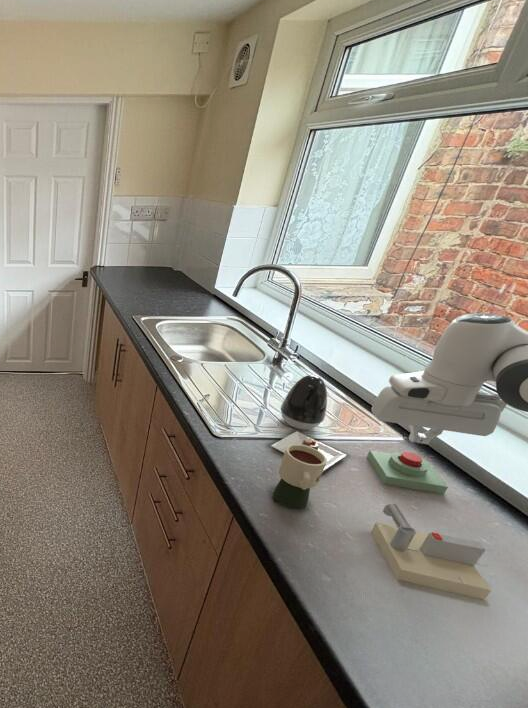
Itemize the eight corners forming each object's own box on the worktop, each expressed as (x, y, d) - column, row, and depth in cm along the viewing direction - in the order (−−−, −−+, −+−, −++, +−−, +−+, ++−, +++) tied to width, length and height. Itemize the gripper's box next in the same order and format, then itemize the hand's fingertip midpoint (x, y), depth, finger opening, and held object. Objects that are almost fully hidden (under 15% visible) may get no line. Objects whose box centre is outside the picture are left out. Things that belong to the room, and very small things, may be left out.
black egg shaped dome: (272, 425, 116) (287, 377, 109) (282, 410, 122) (297, 364, 116) (315, 439, 109) (334, 390, 102) (323, 423, 116) (341, 375, 109)
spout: (389, 520, 81) (398, 502, 78) (408, 553, 74) (419, 533, 72) (375, 517, 81) (384, 499, 79) (393, 549, 75) (403, 530, 72)
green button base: (421, 466, 99) (428, 452, 98) (443, 494, 91) (452, 480, 89) (366, 457, 103) (372, 444, 101) (383, 483, 94) (390, 470, 93)
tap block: (459, 553, 78) (468, 539, 76) (498, 608, 68) (509, 594, 67) (369, 534, 82) (375, 521, 80) (393, 583, 73) (402, 569, 71)
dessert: (345, 458, 102) (352, 442, 100) (319, 476, 97) (326, 459, 95) (295, 434, 112) (300, 419, 110) (269, 449, 106) (274, 433, 104)
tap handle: (469, 558, 73) (480, 541, 71) (474, 566, 71) (486, 548, 69) (419, 548, 75) (429, 531, 73) (424, 555, 73) (434, 538, 72)
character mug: (312, 525, 84) (333, 475, 78) (272, 515, 87) (290, 466, 81) (303, 489, 93) (321, 443, 87) (267, 481, 96) (282, 435, 90)
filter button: (414, 459, 96) (418, 453, 96) (422, 469, 93) (425, 463, 92) (396, 456, 97) (399, 450, 97) (403, 465, 94) (406, 459, 94)
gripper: (500, 388, 86) (468, 442, 92) (382, 374, 92) (359, 425, 99) (521, 404, 81) (485, 460, 87) (394, 387, 87) (369, 441, 93)
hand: (417, 441), depth 93 cm, fingers closed
